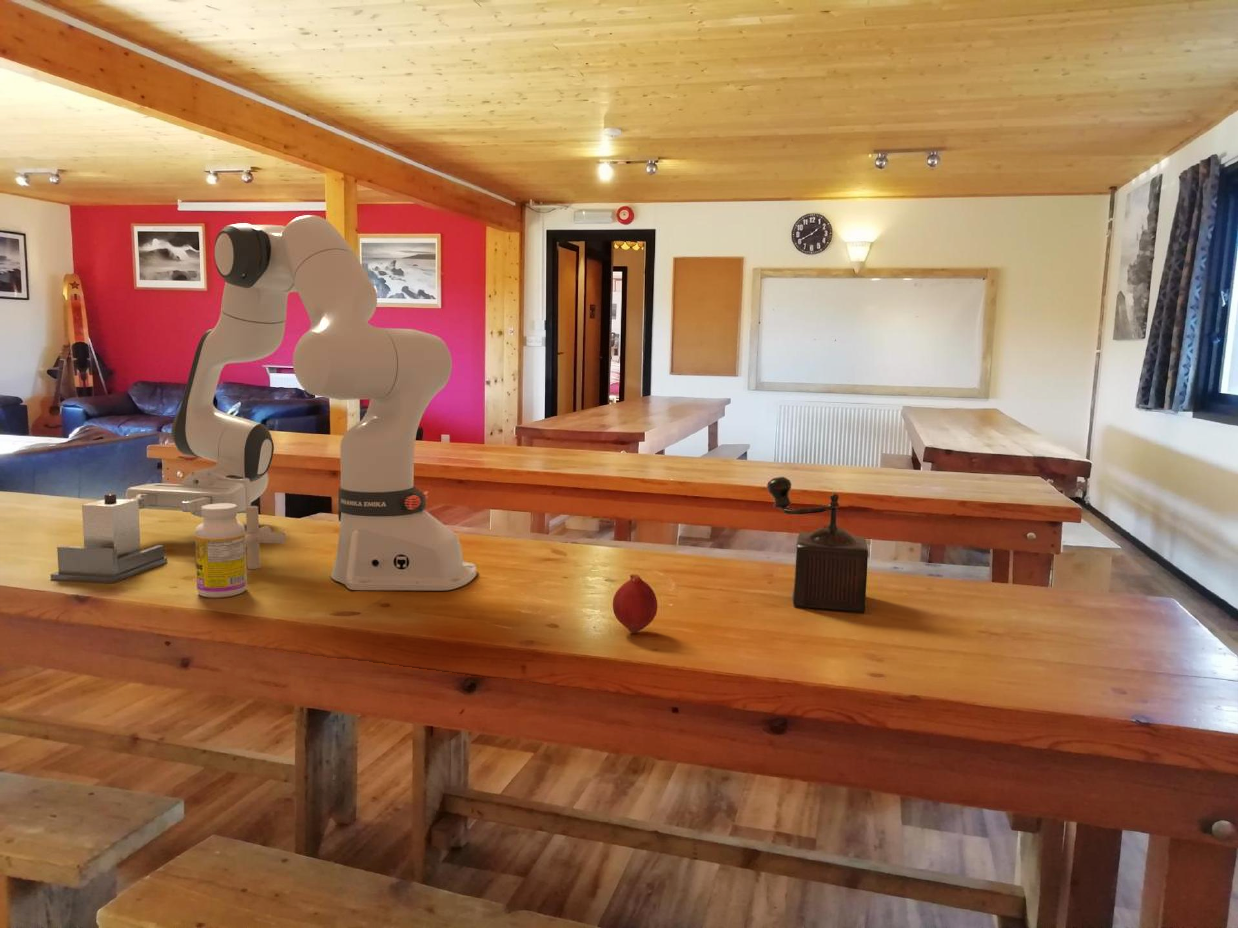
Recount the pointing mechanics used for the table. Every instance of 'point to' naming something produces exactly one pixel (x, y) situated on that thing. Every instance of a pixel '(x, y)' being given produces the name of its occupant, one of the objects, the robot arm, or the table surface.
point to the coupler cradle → (104, 563)
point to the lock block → (112, 525)
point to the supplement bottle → (220, 552)
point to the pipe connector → (258, 537)
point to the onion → (635, 604)
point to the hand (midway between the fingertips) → (159, 505)
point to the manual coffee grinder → (825, 560)
